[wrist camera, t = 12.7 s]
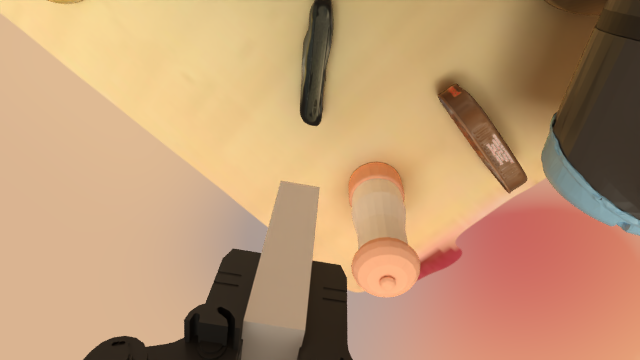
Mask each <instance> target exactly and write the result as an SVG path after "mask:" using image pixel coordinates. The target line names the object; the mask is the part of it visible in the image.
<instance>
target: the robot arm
mask: <svg viewBox="0 0 640 360" xmlns="http://www.w3.org/2000/svg"><path fill="white" fill-rule="evenodd" d="M545 1H546V2H548V3H549V4H551V5H552V6H554V7H556V8H558V9H561V10H565V11H568V12H572V13H576V14H582V15H598V14H601V15H600V17H599V20H598V22H597V24H596V26H595V28H594V30H593V32H592V34H591V37H590V39H589V41H588V43H587V46H586V48H585V50H584V53H583V55H582V57H581V59H580V62H579V64H578V66H577V69H576V71H575V73H574V75H573V78H572V80H571V82H570V85H569V87H568V89H567V91H566V94H565V96H564V98H563V100H562V103H561V105H560V107H559V110H558V112H557V113H555V114H554V116H553V118H552V120H551V123H550V132H549V135H548V137H547V140H546V142H545V145H544V148H543V151H542V156H541V160H542V163H543V171H544V173H545V175H546V177H547V179H548V180H549V182H550V183H551V185H552V186H553V187H554V188H555V189H556V191H557V192H558V193H559V194H560V195H562V196H563V197H564V198H565V199H566V200H567V201H569V202H570V203H571V204H573V205H574V206H575V207H577V208H578V209H580V210H581V211H583V212H584V213H586V214H587V215H589V216H591V217H592V218H594V219H596V220H598V221H600V222H602V223H605V224H607V225H609V226H615V225H616V224H617V225H618V226H620V227H621V228H622V229H623V230H625V231H626V232H628V233H631V234H635V235H639V236H640V0H545ZM319 188H320V187H315V186H309V185H303V184H297V183H291V182H286V181H281V183H280V186H279V190H278V194H277V197H276V201H275V205H274V209H273V212H272V216H271V220H270V223H269V227H268V231H267V235H266V238H265V242H264V246H263V250H262V253H257V252H251V251H244V250H239V249H232V250H231V251H230V252H229V253H228V254H227V255H226V256H225V257H224V258H223V260H222V262H221V264H220V267H219V270H218V273H217V275H216V277H215V280H214V283H213V285H212V288H211V290H210V293H209V296H208V298H207V300H206V303H205V304H202V305H199V306H197V307H196V308H194V309H193V310H192V311H190V312H189V314H188V315H187V317H186V318H185V320H184V336H185V337H184V338H183V339H180V340H178V341H176V342H173V343H169V344H164V345H157V346H149V347H145V345H144V343H143V342H141V341H140V340H138V339H137V338H133V337H128V336H121V337H114V338H111V339H109V340H107V341H104V342H102V343H101V344H99V345H98V346H97V347H96V348H94V349H93V350H92V351H91V352H90V353H89V354H88V355H87V356H86V357H85V358H84V360H353V359H352V358H351V356H350V353H349V351H348V345H347V277H346V275H345V273H344V271H343V269H342V267H341V265H336V264H330V263H324V262H318V261H312V257H313V247H314V238H315V228H316V218H317V208H318V198H319Z"/></svg>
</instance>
